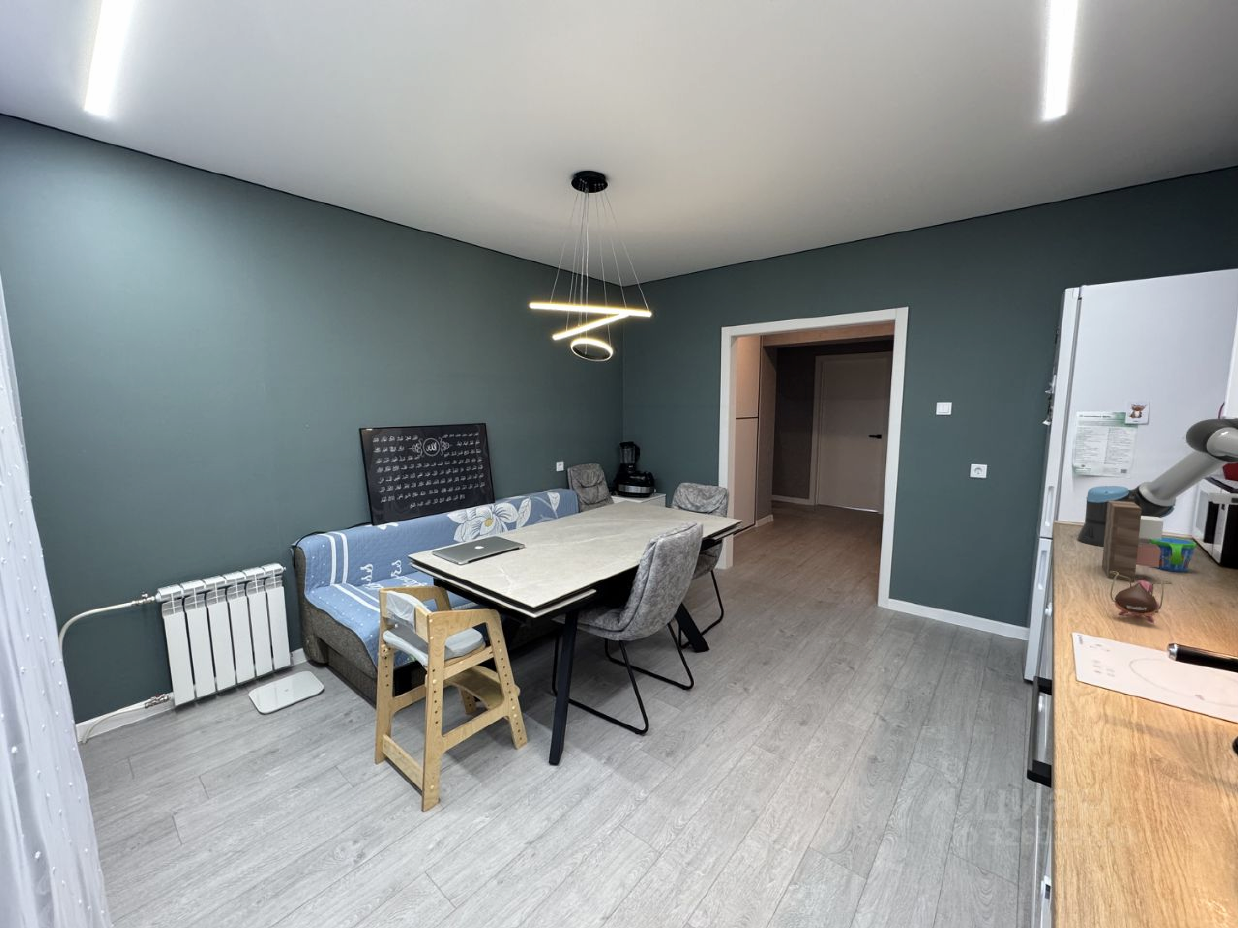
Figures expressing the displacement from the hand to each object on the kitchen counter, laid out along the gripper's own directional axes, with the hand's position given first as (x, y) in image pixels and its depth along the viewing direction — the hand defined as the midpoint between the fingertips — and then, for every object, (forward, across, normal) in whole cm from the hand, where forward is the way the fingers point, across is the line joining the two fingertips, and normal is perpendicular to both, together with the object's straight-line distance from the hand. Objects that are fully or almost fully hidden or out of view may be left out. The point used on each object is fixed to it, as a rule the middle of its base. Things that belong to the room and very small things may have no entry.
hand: (1211, 497), depth 149 cm
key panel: (+19, 0, -28) cm, 34 cm away
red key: (+13, 0, -23) cm, 26 cm away
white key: (+13, 0, -14) cm, 19 cm away
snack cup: (+4, +18, -28) cm, 34 cm away
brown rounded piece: (+20, -41, -28) cm, 54 cm away
